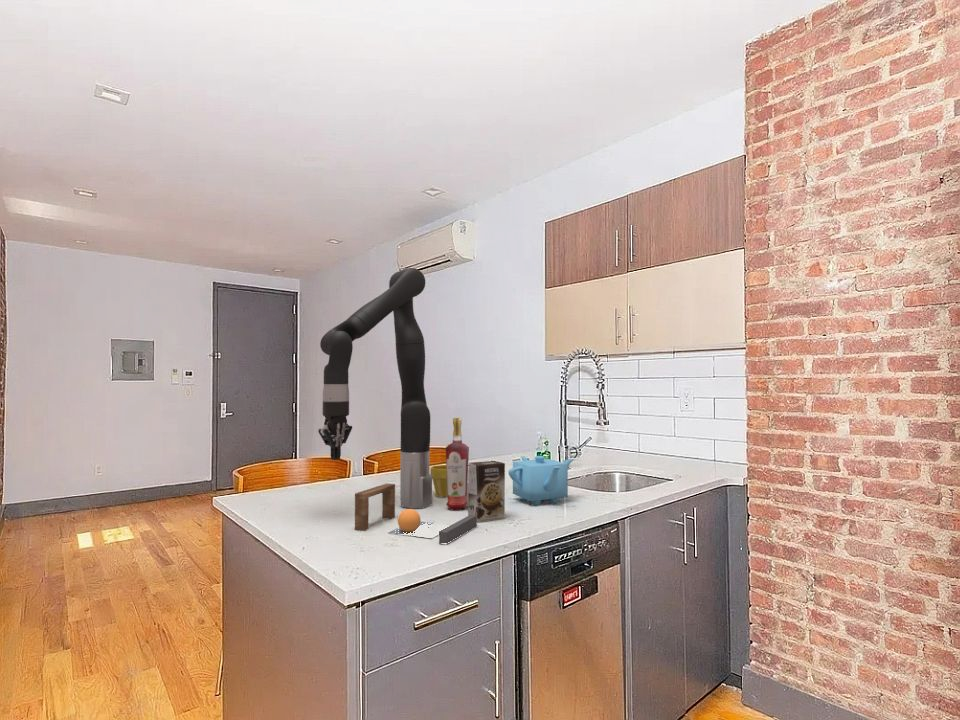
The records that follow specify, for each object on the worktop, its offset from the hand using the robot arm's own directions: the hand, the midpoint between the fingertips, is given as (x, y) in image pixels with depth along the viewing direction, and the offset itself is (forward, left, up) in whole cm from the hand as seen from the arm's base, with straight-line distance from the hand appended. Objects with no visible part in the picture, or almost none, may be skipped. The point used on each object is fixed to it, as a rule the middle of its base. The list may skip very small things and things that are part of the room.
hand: (335, 459), depth 162 cm
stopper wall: (-40, 0, -17) cm, 43 cm away
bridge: (-14, 0, -17) cm, 22 cm away
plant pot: (-15, -40, -17) cm, 46 cm away
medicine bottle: (-28, -35, -17) cm, 48 cm away
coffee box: (-40, -18, -17) cm, 47 cm away
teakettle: (-48, -46, -17) cm, 69 cm away
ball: (-27, +3, -14) cm, 30 cm away
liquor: (-27, -25, -17) cm, 41 cm away
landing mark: (-29, 0, -17) cm, 34 cm away
